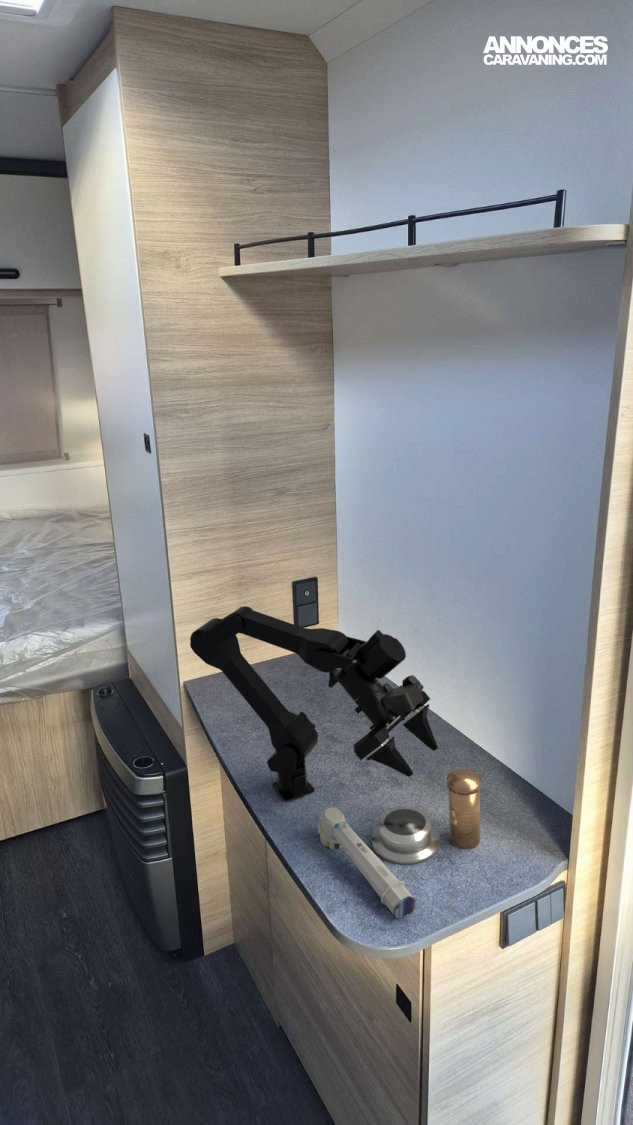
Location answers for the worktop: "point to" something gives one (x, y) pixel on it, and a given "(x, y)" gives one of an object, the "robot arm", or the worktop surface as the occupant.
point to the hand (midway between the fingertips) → (424, 761)
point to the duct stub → (405, 836)
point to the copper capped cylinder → (464, 808)
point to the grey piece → (366, 862)
